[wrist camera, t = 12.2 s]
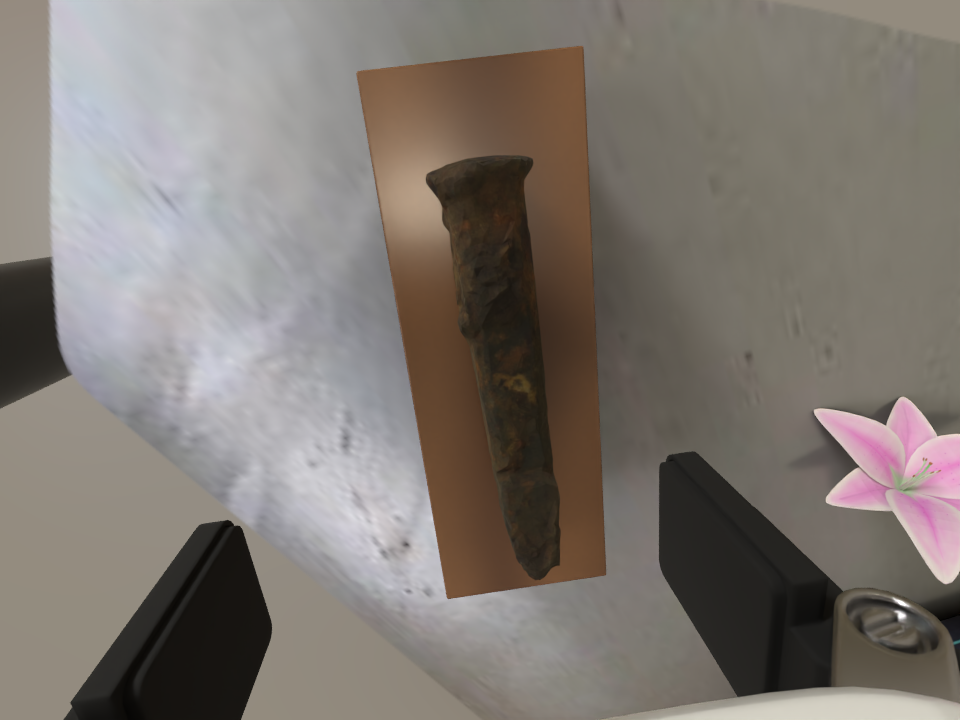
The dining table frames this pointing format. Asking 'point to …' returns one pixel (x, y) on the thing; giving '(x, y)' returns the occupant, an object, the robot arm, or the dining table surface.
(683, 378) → the dining table surface
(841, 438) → the lily
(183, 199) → the dining table surface
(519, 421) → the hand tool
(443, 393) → the shelf stand
